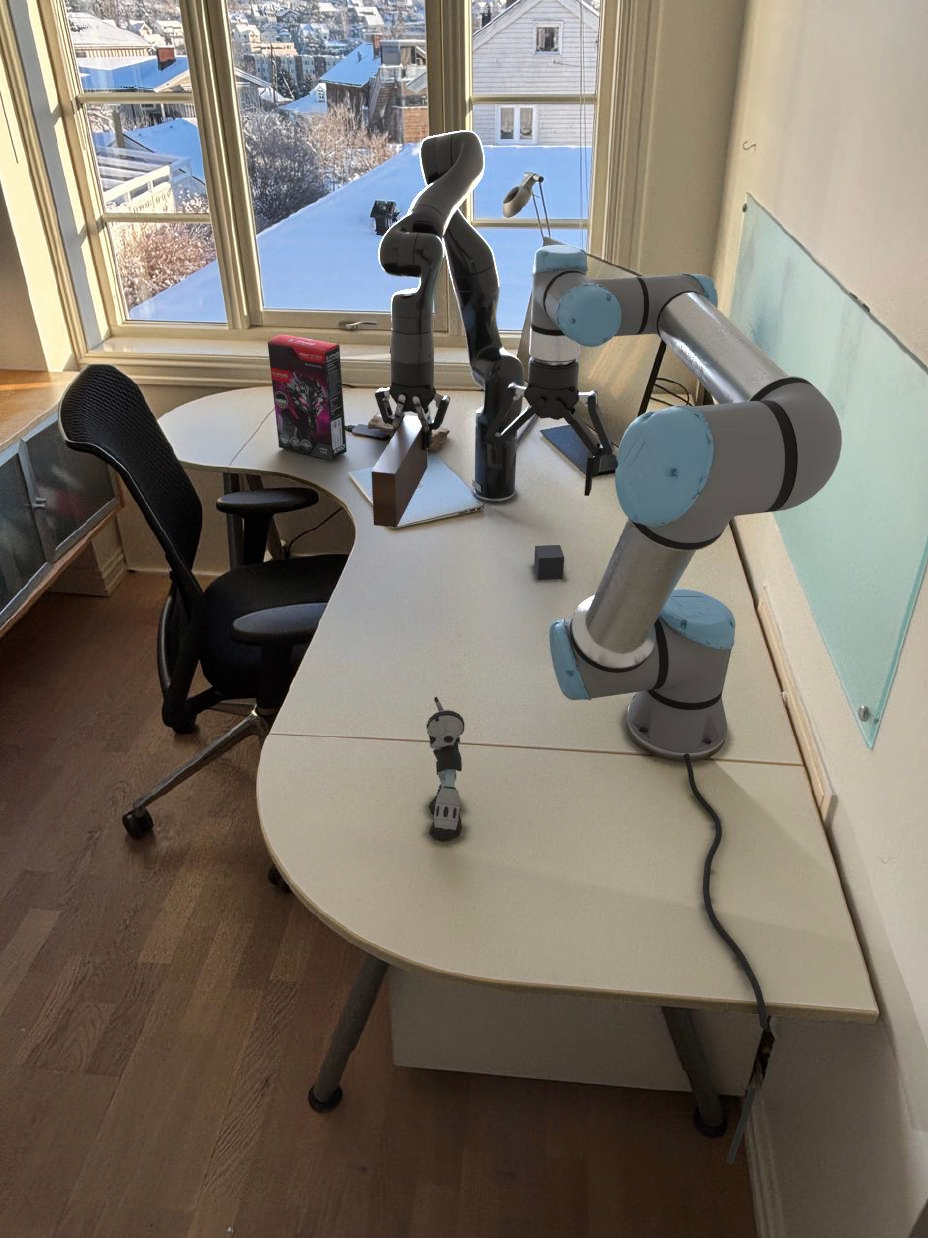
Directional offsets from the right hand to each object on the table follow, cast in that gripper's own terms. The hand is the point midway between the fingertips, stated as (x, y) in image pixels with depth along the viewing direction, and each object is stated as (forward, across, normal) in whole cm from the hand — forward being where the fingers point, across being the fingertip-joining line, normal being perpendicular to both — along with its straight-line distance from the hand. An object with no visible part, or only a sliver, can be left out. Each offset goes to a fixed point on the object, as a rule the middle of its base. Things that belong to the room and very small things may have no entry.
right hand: (546, 487), depth 149 cm
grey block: (+29, +2, -21) cm, 36 cm away
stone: (+29, +50, -76) cm, 95 cm away
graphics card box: (+29, +70, -63) cm, 98 cm away
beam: (+8, +27, -7) cm, 29 cm away
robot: (+29, +3, +48) cm, 56 cm away
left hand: (+3, +28, -16) cm, 32 cm away
